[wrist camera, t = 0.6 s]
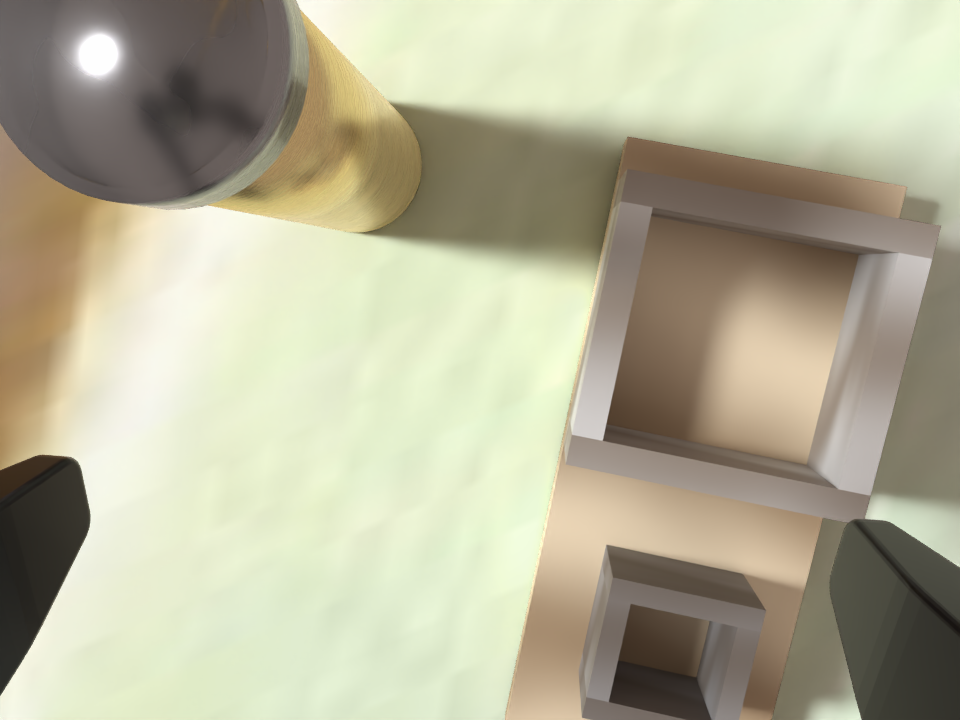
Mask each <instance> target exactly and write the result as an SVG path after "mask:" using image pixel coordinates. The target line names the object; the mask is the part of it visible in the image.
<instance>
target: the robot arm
mask: <svg viewBox="0 0 960 720" xmlns="http://www.w3.org/2000/svg"><path fill="white" fill-rule="evenodd" d="M89 527H90V509H89V504H88V500H87V495H86V490H85V485H84V480H83V476H82V471H81V468H80V465H79V463H78V462H77V461H76V460H75V459H73V458H72V457H64V456H52V455H38V456H35V457H32V458H30V459H27V460H25V461H22V462H20V463H17V464H15V465H12V466H10V467H7V468H5V469H2V470H0V696H1V694H2V692H3V691H4V689H5V688H6V686H7V684H8V683H9V681H10V680H11V678H12V677H13V675H14V673H15V672H16V670H17V669H18V667H19V665H20V664H21V662H22V660H23V659H24V657H25V655H26V654H27V652H28V650H29V649H30V647H31V645H32V644H33V642H34V640H35V638H36V636H37V634H38V632H39V631H40V629H41V627H42V625H43V623H44V621H45V619H46V617H47V615H48V613H49V611H50V609H51V607H52V605H53V603H54V601H55V599H56V597H57V595H58V593H59V591H60V589H61V586H62V584H63V582H64V580H65V578H66V576H67V574H68V572H69V570H70V568H71V566H72V564H73V562H74V560H75V558H76V556H77V554H78V552H79V550H80V548H81V546H82V544H83V542H84V540H85V538H86V536H87V533H88V530H89ZM830 595H831V600H832V604H833V608H834V612H835V616H836V620H837V624H838V628H839V632H840V636H841V640H842V644H843V648H844V653H845V657H846V661H847V665H848V669H849V673H850V677H851V681H852V685H853V689H854V693H855V697H856V701H857V704H858V708H859V712H860V715H861V719H862V720H960V567H958V566H957V565H955V564H954V563H952V562H950V561H949V560H947V559H946V558H944V557H943V556H941V555H940V554H938V553H937V552H935V551H934V550H932V549H931V548H929V547H928V546H926V545H924V544H923V543H921V542H920V541H918V540H917V539H915V538H914V537H912V536H911V535H909V534H908V533H906V532H905V531H903V530H901V529H900V528H898V527H897V526H895V525H894V524H892V523H890V522H887V521H882V520H868V519H853V520H851V521H850V522H848V524H847V525H846V527H845V529H844V532H843V535H842V538H841V542H840V545H839V548H838V552H837V555H836V558H835V562H834V565H833V568H832V571H831V576H830Z"/></svg>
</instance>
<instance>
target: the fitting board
mask: <svg viewBox="0 0 960 720" xmlns="http://www.w3.org/2000/svg"><path fill="white" fill-rule="evenodd" d="M906 190H907V187H906V186H900V185H894V184H889V183H883V182H878V181H872V180H867V179H861V178H855V177H850V176H844V175H839V174H833V173H828V172H822V171H816V170H811V169H805V168H800V167H794V166H788V165H783V164H777V163H772V162H766V161H761V160H755V159H749V158H744V157H738V156H733V155H727V154H722V153H716V152H710V151H705V150H699V149H694V148H688V147H683V146H677V145H671V144H666V143H660V142H655V141H649V140H644V139H638V138H632V137H627V139H626V141H625V142H624V145H623V150H622V155H621V160H620V165H619V169H618V174H617V179H616V184H615V189H614V193H613V198H612V203H611V208H610V213H609V217H608V222H607V227H606V232H605V237H604V242H603V246H602V251H601V256H600V261H599V266H598V270H597V275H596V280H595V285H594V290H593V294H592V299H591V304H590V309H589V314H588V319H587V323H586V328H585V333H584V338H583V343H582V347H581V352H580V357H579V362H578V367H577V371H576V376H575V381H574V386H573V391H572V395H571V400H570V405H569V410H568V415H567V420H566V424H565V429H564V434H563V439H562V444H561V448H560V453H559V458H558V463H557V468H556V472H555V477H554V482H553V487H552V492H551V497H550V501H549V506H548V511H547V516H546V521H545V525H544V530H543V535H542V540H541V545H540V549H539V554H538V559H537V564H536V569H535V574H534V578H533V583H532V588H531V593H530V598H529V602H528V607H527V612H526V617H525V622H524V626H523V631H522V636H521V641H520V646H519V651H518V655H517V660H516V665H515V670H514V675H513V679H512V684H511V689H510V694H509V699H508V703H507V708H506V714H505V720H772V716H773V712H774V708H775V704H776V700H777V696H778V692H779V689H780V685H781V681H782V677H783V673H784V669H785V665H786V661H787V657H788V653H789V649H790V645H791V641H792V637H793V634H794V630H795V626H796V622H797V618H798V614H799V610H800V606H801V602H802V598H803V594H804V590H805V586H806V582H807V579H808V575H809V571H810V567H811V563H812V559H813V555H814V551H815V547H816V543H817V539H818V535H819V531H820V528H821V524H822V520H823V518H827V519H831V520H836V521H841V522H846V523H848V522H850V521H851V520H853V519H865V515H866V511H867V507H868V504H869V500H870V496H871V492H872V488H873V484H874V481H875V477H876V473H877V469H878V465H879V461H880V458H881V454H882V450H883V446H884V442H885V439H886V435H887V431H888V427H889V423H890V419H891V416H892V412H893V408H894V404H895V400H896V397H897V393H898V389H899V385H900V381H901V377H902V374H903V370H904V366H905V362H906V358H907V355H908V351H909V347H910V343H911V339H912V335H913V332H914V328H915V324H916V320H917V316H918V312H919V309H920V305H921V301H922V297H923V293H924V290H925V286H926V282H927V278H928V274H929V270H930V267H931V263H932V259H933V255H934V251H935V248H936V244H937V240H938V236H939V232H940V228H941V226H938V225H933V224H927V223H922V222H916V221H911V220H905V219H900V218H899V217H900V213H901V210H902V206H903V202H904V198H905V194H906Z"/></svg>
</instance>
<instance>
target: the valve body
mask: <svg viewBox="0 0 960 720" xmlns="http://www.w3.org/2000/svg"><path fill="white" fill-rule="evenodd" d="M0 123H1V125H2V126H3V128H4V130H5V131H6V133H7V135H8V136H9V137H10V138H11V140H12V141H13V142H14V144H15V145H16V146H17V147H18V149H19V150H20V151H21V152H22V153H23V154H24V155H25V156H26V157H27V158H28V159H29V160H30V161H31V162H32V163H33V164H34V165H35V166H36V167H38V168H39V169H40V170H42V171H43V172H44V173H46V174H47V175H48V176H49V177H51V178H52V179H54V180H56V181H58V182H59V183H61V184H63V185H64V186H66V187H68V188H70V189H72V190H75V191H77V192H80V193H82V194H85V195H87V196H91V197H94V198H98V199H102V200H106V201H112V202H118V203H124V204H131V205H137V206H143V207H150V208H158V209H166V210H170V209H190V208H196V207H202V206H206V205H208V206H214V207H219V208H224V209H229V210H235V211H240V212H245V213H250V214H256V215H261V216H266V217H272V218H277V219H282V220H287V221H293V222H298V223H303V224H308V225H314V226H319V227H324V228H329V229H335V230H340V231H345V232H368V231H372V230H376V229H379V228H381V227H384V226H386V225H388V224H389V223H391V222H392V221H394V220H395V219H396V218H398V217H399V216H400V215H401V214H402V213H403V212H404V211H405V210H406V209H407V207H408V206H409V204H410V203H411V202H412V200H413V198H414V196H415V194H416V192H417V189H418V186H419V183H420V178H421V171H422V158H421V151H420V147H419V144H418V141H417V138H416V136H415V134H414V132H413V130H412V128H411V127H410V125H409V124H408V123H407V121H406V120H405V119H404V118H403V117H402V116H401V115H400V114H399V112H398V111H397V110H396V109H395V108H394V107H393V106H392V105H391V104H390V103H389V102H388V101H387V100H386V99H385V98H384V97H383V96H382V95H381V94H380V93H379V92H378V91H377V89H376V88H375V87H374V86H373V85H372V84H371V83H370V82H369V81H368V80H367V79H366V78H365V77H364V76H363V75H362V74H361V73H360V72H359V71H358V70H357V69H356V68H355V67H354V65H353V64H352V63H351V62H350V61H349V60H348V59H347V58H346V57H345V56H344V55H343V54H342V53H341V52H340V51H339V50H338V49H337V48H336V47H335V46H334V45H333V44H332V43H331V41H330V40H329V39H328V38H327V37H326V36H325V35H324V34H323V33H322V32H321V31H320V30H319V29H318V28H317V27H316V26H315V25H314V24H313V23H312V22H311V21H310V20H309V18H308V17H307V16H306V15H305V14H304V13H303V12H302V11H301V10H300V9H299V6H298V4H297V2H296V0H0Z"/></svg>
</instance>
